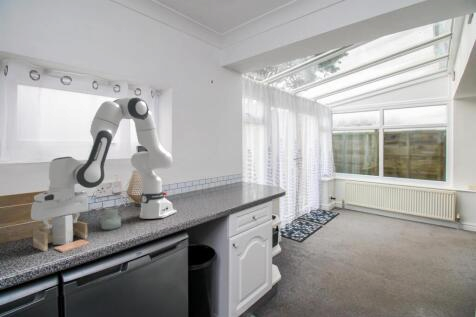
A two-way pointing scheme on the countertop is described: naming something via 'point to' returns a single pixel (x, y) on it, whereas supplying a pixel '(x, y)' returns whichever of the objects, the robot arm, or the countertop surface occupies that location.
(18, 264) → the countertop surface
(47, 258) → the countertop surface
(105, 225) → the air freshener
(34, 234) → the open wooden frame
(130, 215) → the countertop surface
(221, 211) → the countertop surface
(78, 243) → the tile
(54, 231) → the skincare box
